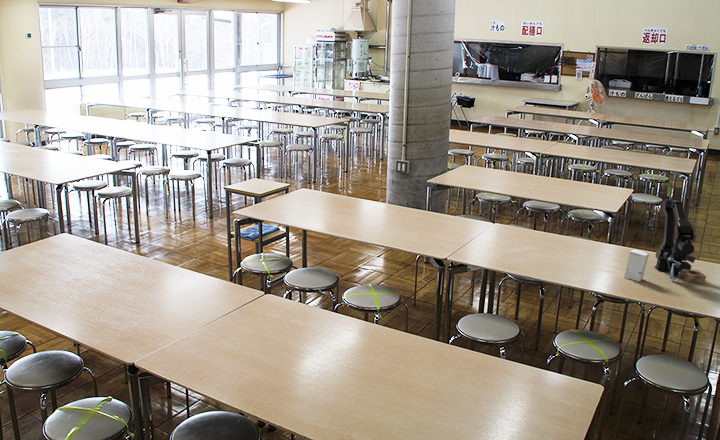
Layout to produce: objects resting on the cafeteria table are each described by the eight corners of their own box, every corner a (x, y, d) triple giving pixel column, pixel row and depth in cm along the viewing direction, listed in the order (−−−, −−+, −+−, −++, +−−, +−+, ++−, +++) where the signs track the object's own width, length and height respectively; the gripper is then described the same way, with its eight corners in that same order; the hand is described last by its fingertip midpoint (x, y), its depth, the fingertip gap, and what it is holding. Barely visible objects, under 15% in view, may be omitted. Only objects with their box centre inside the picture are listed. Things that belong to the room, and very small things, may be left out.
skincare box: (623, 277, 311) (629, 251, 306) (627, 274, 315) (632, 248, 311) (640, 282, 306) (646, 255, 301) (643, 279, 310) (649, 252, 306)
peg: (671, 279, 308) (674, 265, 306) (668, 277, 311) (671, 263, 309) (677, 280, 308) (680, 265, 306) (674, 277, 311) (677, 263, 309)
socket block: (687, 282, 309) (688, 275, 308) (678, 275, 318) (680, 268, 317) (704, 283, 309) (706, 276, 308) (695, 276, 318) (697, 269, 316)
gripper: (704, 255, 295) (697, 283, 300) (686, 242, 313) (680, 270, 318) (682, 253, 296) (675, 282, 300) (665, 241, 313) (659, 268, 318)
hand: (673, 275), depth 309 cm, fingers closed on peg, 3 cm apart
